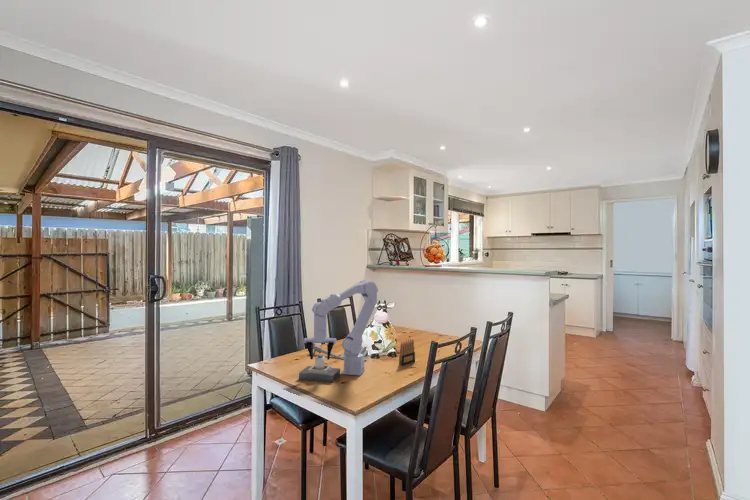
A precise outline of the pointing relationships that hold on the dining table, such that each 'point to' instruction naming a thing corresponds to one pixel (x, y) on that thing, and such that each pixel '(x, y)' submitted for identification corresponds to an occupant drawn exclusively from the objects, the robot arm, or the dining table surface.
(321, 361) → the white capped cylinder
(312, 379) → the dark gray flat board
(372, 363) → the dining table surface
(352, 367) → the robot arm
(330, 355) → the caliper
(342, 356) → the metal bracket
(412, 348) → the ammunition clip
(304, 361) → the dining table surface
